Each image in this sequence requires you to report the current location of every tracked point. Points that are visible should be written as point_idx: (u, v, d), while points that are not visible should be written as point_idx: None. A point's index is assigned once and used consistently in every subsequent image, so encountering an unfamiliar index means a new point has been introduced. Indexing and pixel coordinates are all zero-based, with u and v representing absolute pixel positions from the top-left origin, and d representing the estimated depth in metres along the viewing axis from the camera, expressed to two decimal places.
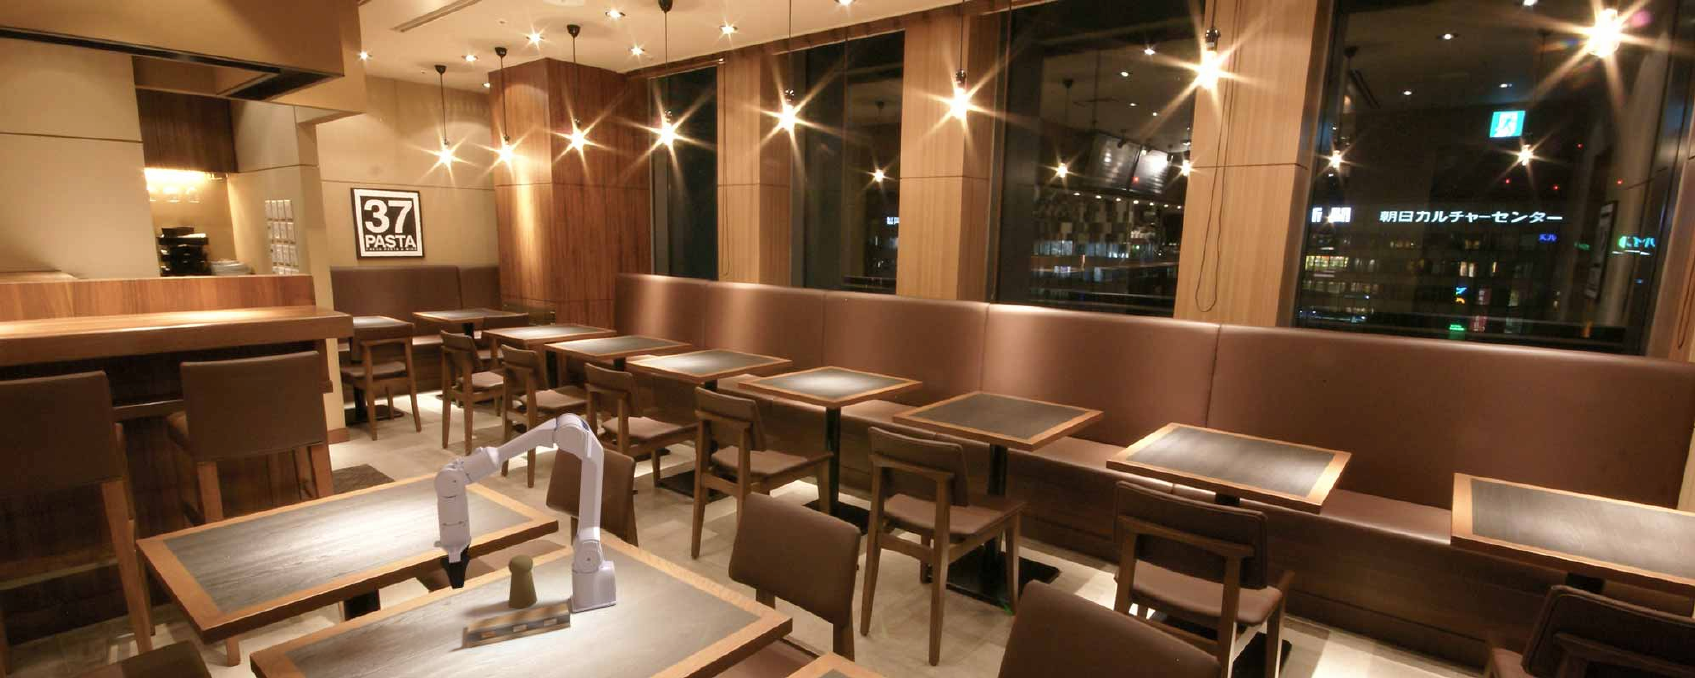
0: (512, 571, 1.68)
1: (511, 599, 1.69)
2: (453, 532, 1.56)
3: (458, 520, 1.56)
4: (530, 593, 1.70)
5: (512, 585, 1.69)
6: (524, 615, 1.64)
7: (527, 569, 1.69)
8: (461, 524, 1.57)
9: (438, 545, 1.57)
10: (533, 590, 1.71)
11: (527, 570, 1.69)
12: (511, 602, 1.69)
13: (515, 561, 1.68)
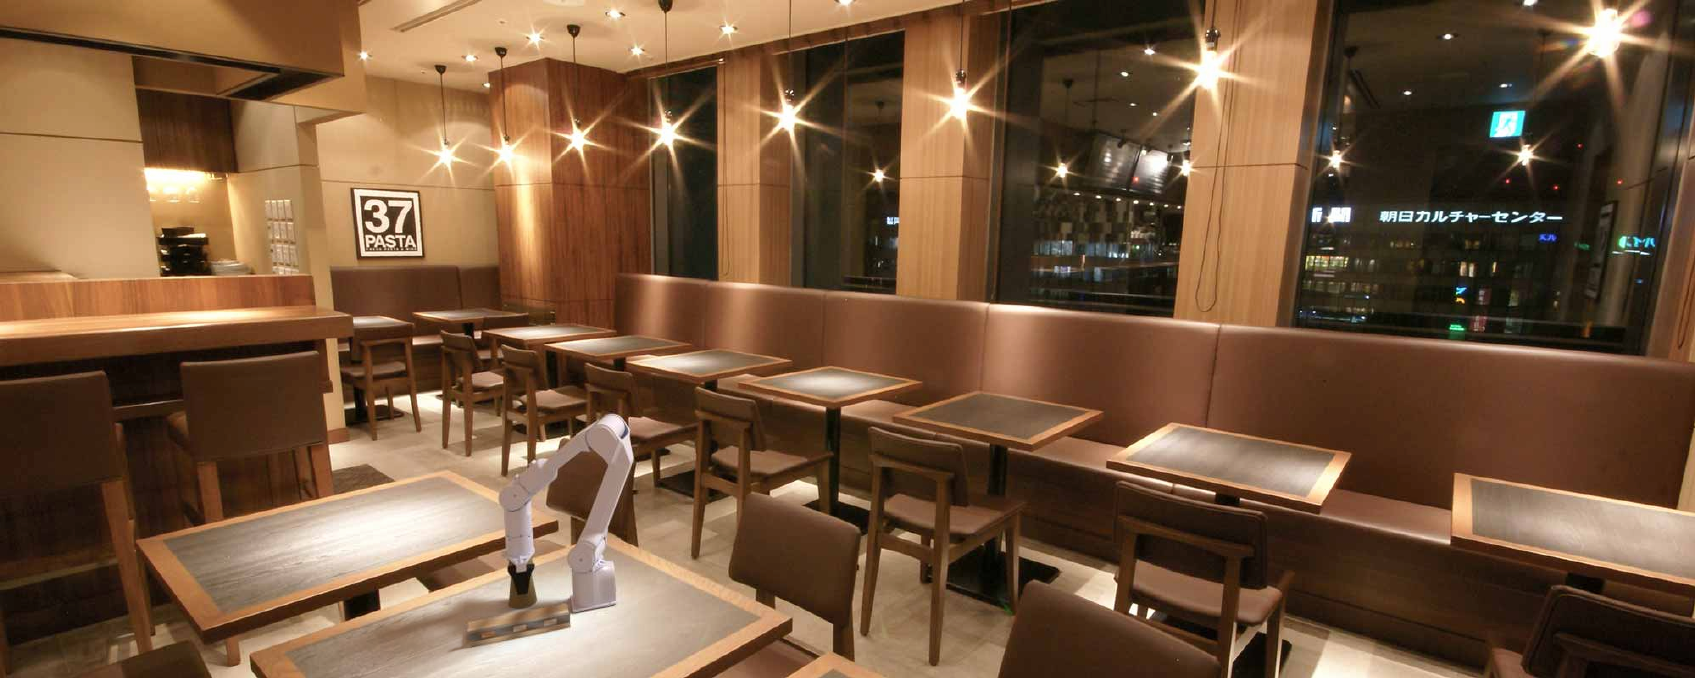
0: None
1: (511, 599, 1.69)
2: (519, 543, 1.66)
3: (519, 533, 1.66)
4: (530, 593, 1.70)
5: (512, 585, 1.69)
6: (524, 615, 1.64)
7: None
8: (526, 536, 1.67)
9: (504, 556, 1.67)
10: (533, 590, 1.71)
11: None
12: (511, 602, 1.69)
13: None
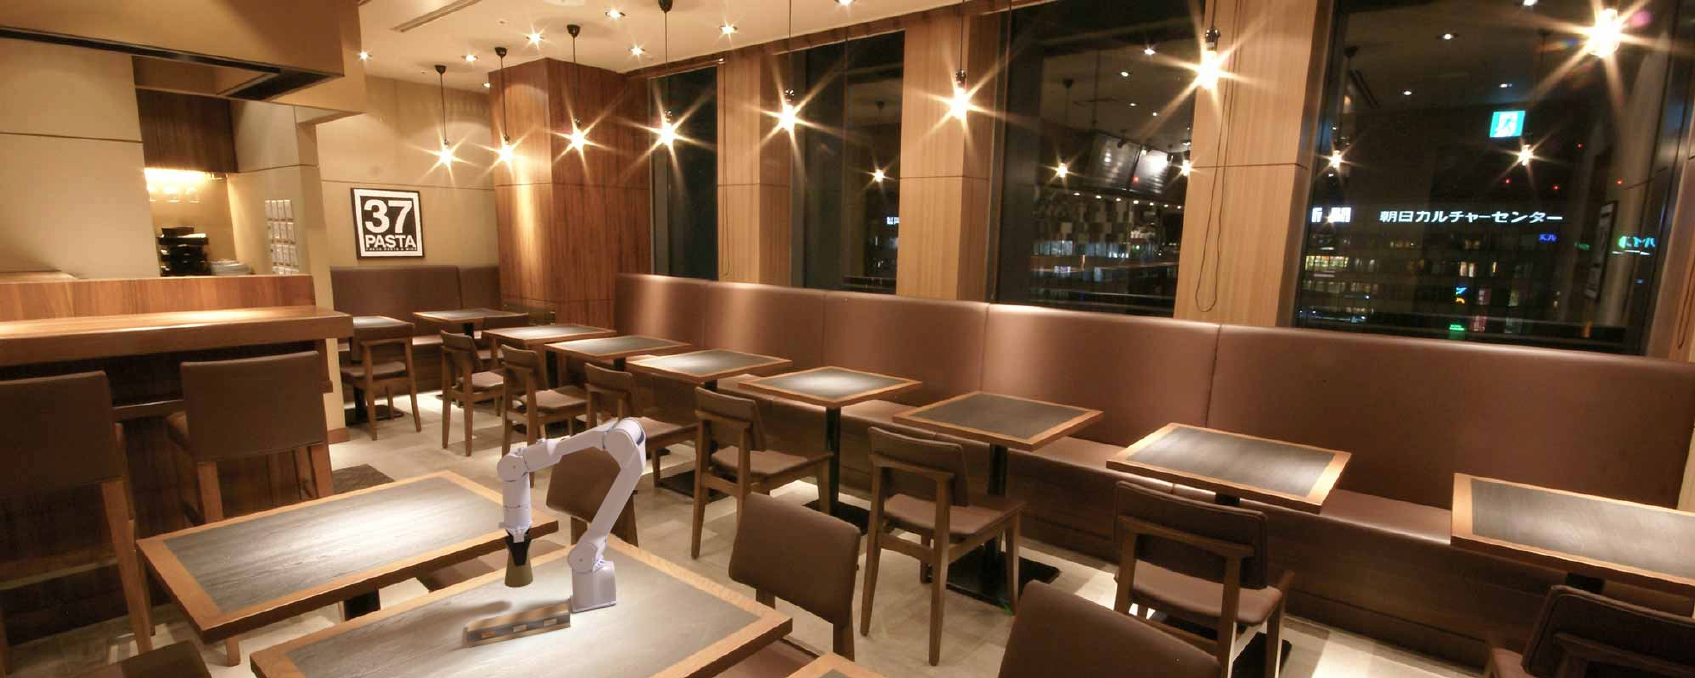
0: (509, 549, 1.67)
1: (507, 577, 1.68)
2: (516, 514, 1.65)
3: (517, 504, 1.65)
4: (526, 572, 1.69)
5: (509, 563, 1.68)
6: (524, 615, 1.64)
7: None
8: (524, 507, 1.66)
9: (502, 526, 1.66)
10: (530, 569, 1.70)
11: None
12: (507, 580, 1.68)
13: None
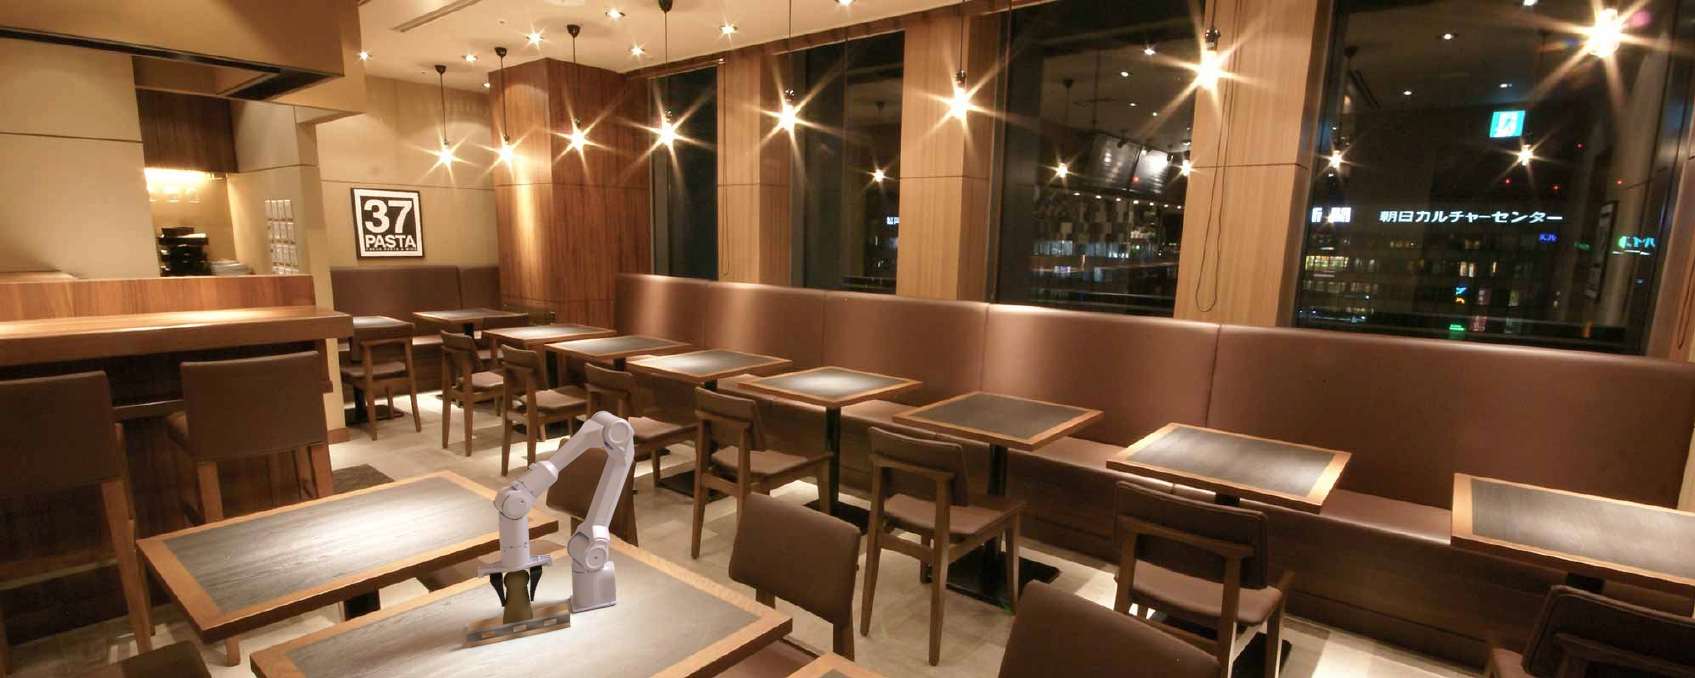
0: None
1: None
2: (500, 551, 1.58)
3: (524, 541, 1.57)
4: (507, 612, 1.59)
5: None
6: None
7: (505, 586, 1.59)
8: (502, 548, 1.56)
9: None
10: (511, 612, 1.59)
11: (506, 586, 1.59)
12: None
13: None
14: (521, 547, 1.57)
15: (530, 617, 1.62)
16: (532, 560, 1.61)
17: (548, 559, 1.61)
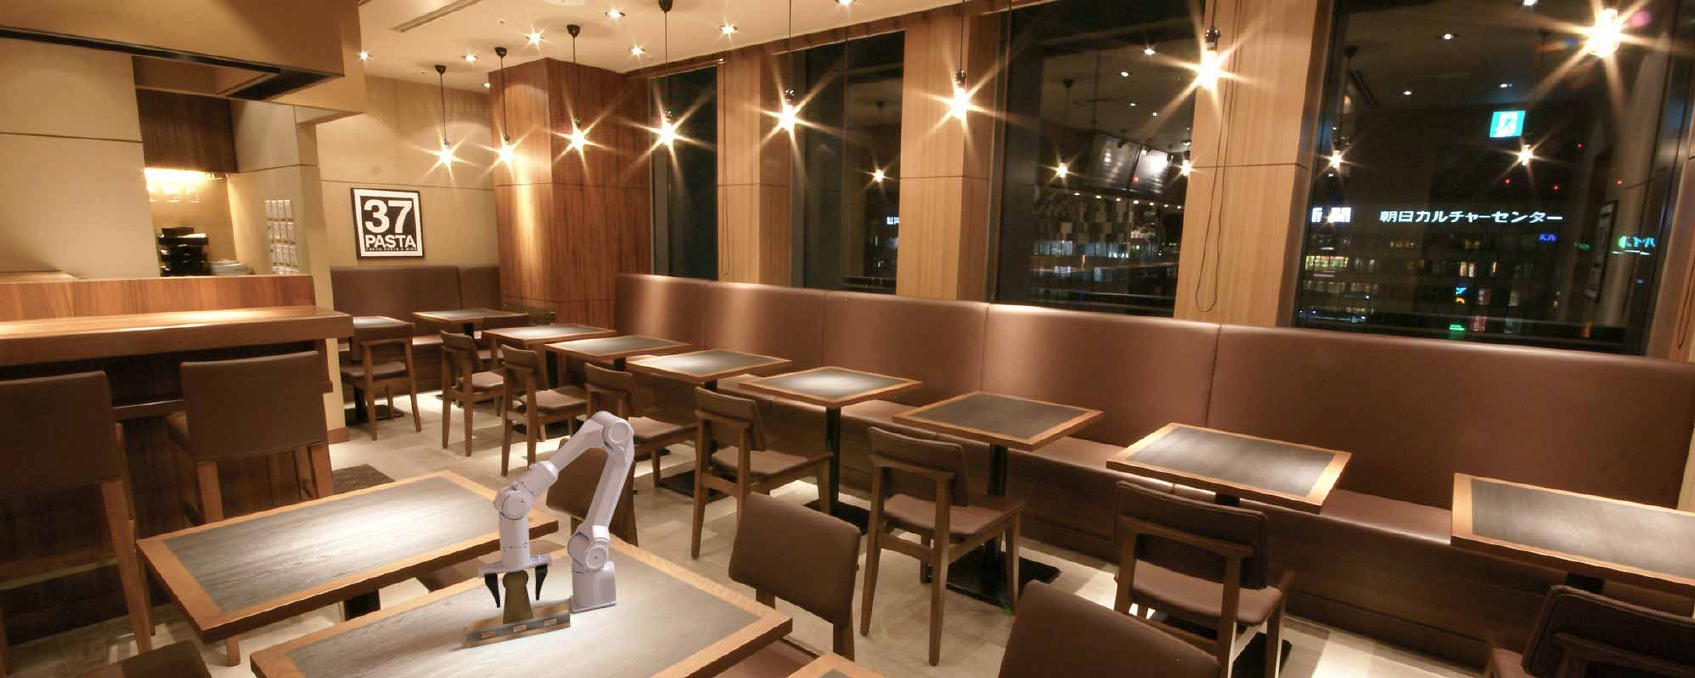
0: None
1: None
2: (500, 551, 1.58)
3: (524, 541, 1.57)
4: (506, 612, 1.59)
5: None
6: None
7: (504, 586, 1.59)
8: (502, 548, 1.56)
9: None
10: (511, 612, 1.59)
11: (505, 587, 1.59)
12: None
13: None
14: (521, 547, 1.57)
15: (530, 617, 1.62)
16: (532, 560, 1.61)
17: (548, 559, 1.61)
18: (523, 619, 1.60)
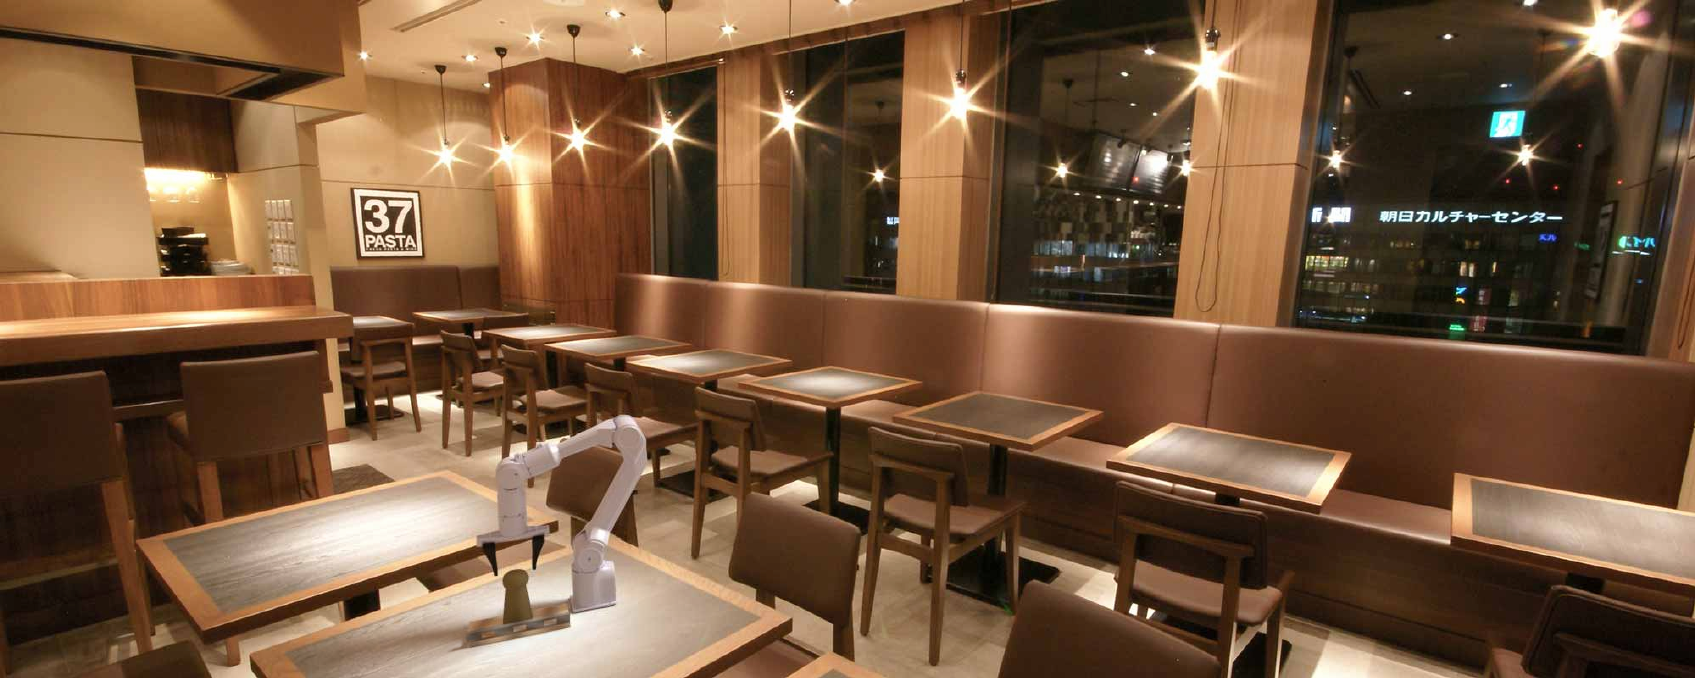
0: None
1: None
2: (498, 520, 1.61)
3: (518, 512, 1.60)
4: (506, 612, 1.59)
5: None
6: None
7: (504, 586, 1.59)
8: (500, 517, 1.60)
9: None
10: (511, 612, 1.59)
11: (505, 587, 1.59)
12: None
13: None
14: (519, 517, 1.61)
15: (530, 617, 1.62)
16: (529, 530, 1.64)
17: (545, 529, 1.65)
18: (523, 619, 1.60)
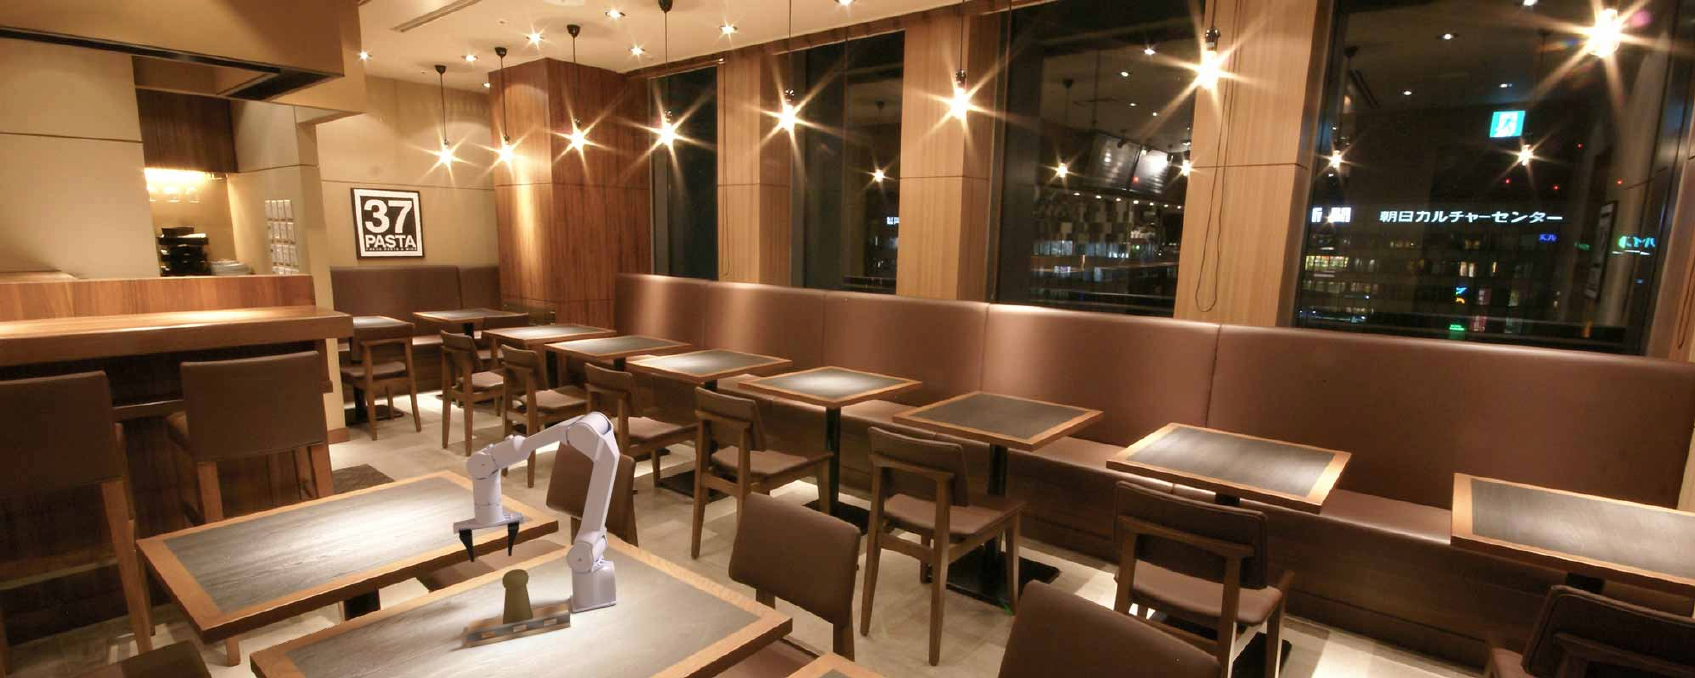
0: None
1: None
2: (474, 508, 1.68)
3: (486, 501, 1.66)
4: (506, 612, 1.59)
5: None
6: None
7: (504, 586, 1.59)
8: (475, 505, 1.66)
9: None
10: (511, 612, 1.59)
11: (505, 587, 1.59)
12: None
13: None
14: (494, 505, 1.67)
15: (530, 617, 1.62)
16: (505, 518, 1.71)
17: (520, 517, 1.71)
18: (523, 619, 1.60)
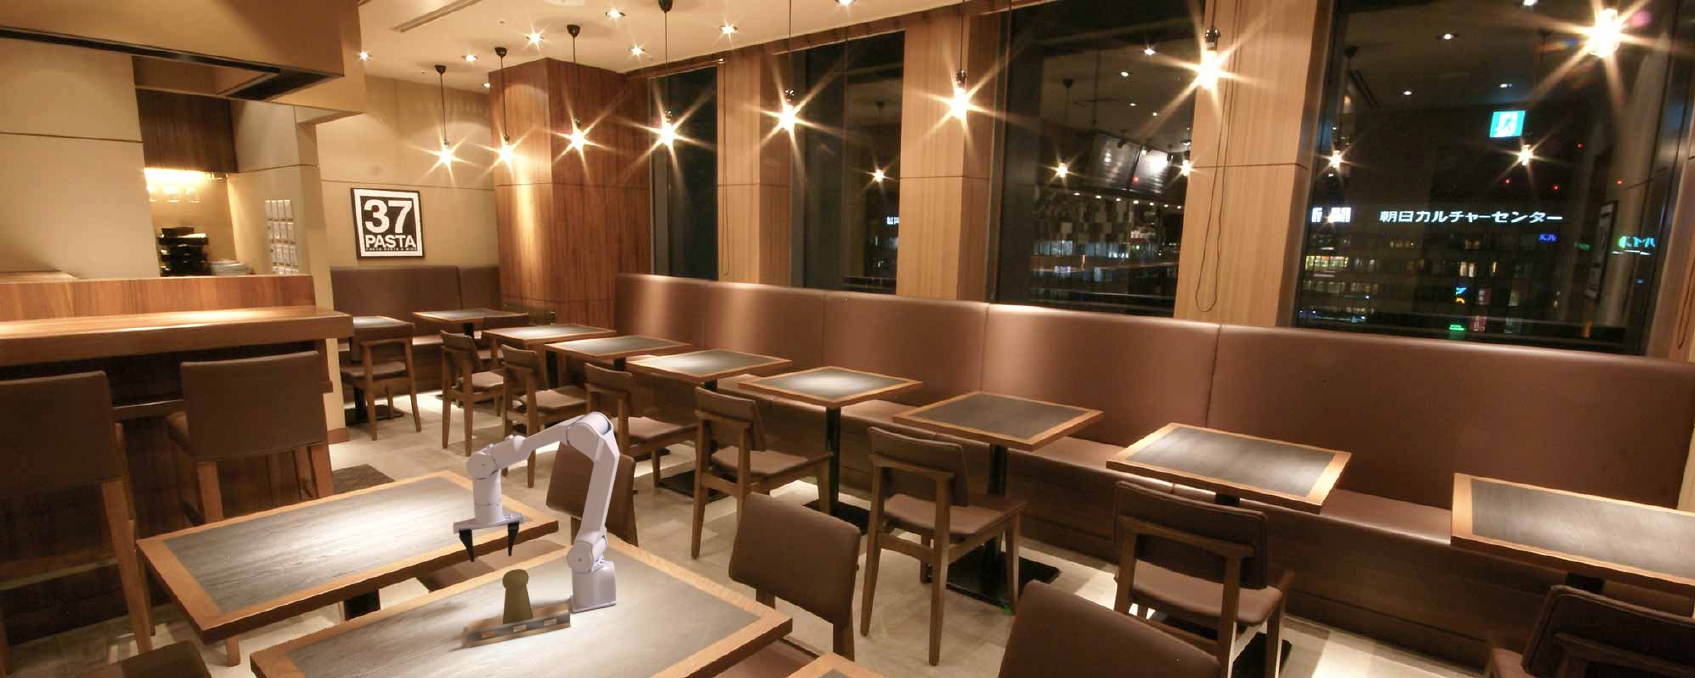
0: None
1: None
2: (474, 508, 1.68)
3: (486, 501, 1.66)
4: (506, 612, 1.59)
5: None
6: None
7: (504, 586, 1.59)
8: (475, 505, 1.66)
9: None
10: (511, 612, 1.59)
11: (505, 587, 1.59)
12: None
13: None
14: (494, 505, 1.67)
15: (530, 617, 1.62)
16: (505, 518, 1.71)
17: (520, 517, 1.71)
18: (523, 619, 1.60)
